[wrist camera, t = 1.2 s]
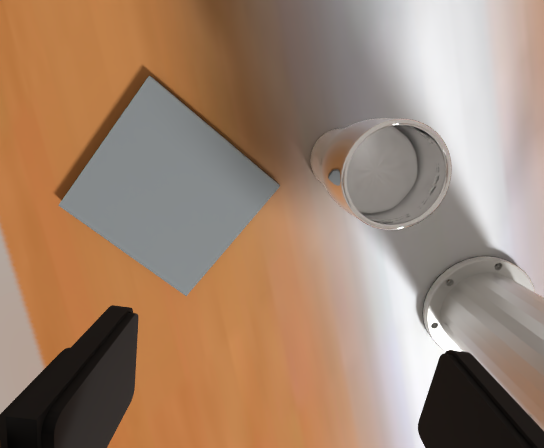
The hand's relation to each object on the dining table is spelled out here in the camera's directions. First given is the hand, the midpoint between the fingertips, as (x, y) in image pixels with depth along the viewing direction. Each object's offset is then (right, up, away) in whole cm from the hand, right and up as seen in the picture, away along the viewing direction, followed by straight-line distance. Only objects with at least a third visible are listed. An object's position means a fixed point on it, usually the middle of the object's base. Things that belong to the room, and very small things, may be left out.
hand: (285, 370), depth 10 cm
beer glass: (+7, +11, +24) cm, 27 cm away
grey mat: (-11, +8, +24) cm, 28 cm away
